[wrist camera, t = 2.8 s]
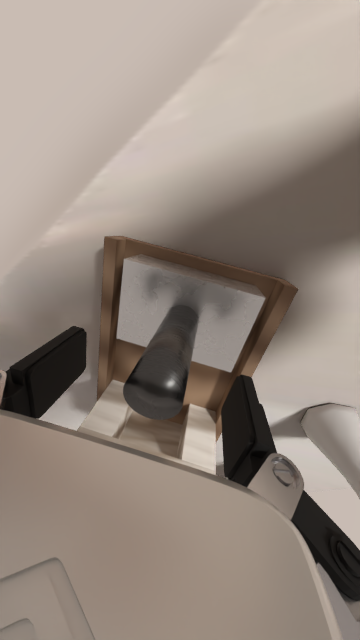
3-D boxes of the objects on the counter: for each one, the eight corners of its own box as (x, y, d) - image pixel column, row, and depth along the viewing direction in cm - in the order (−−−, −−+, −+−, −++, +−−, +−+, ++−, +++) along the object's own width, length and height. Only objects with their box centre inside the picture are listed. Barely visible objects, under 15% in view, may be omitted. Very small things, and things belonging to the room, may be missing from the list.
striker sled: (140, 254, 19) (27, 285, 8) (256, 285, 19) (323, 372, 7) (131, 321, 23) (45, 414, 11) (228, 350, 22) (243, 479, 11)
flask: (298, 437, 28) (337, 532, 19) (300, 402, 26) (345, 492, 17) (355, 439, 27) (427, 543, 18) (363, 400, 24) (452, 500, 15)
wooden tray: (121, 236, 21) (46, 238, 11) (285, 280, 20) (346, 320, 10) (108, 395, 32) (64, 461, 22) (212, 428, 31) (211, 511, 21)
